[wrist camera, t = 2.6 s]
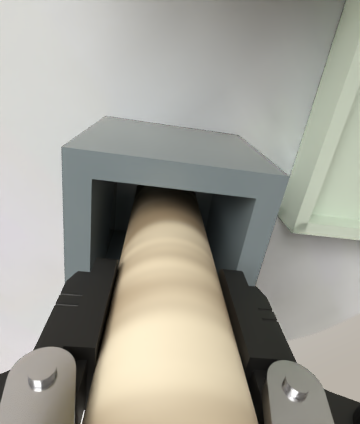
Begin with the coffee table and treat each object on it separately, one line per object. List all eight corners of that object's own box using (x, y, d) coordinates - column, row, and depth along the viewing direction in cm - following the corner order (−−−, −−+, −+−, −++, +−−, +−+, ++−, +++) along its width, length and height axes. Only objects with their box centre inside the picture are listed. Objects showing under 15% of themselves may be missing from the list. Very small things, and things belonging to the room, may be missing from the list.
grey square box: (105, 116, 17) (61, 146, 10) (238, 135, 18) (289, 176, 10) (101, 235, 20) (66, 324, 13) (213, 246, 21) (239, 335, 14)
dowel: (139, 161, 17) (51, 475, 4) (198, 169, 18) (315, 477, 4) (134, 215, 19) (59, 580, 5) (189, 221, 19) (252, 574, 6)
